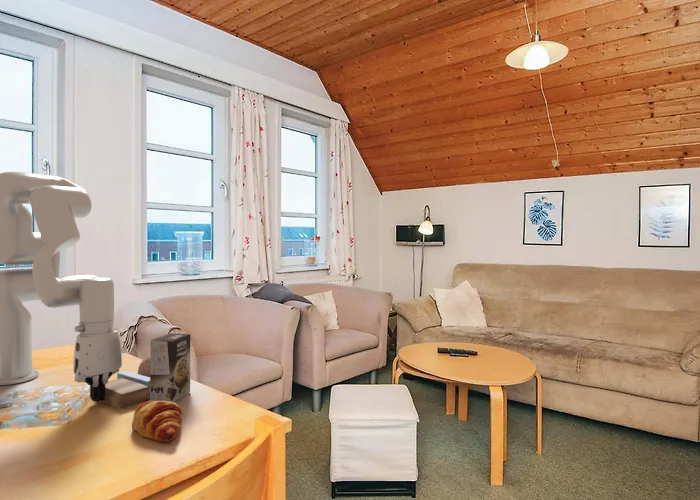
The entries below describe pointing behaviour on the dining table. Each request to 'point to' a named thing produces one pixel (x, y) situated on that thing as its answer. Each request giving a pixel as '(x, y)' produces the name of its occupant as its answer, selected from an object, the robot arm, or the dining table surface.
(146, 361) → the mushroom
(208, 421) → the dining table surface
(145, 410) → the croissant
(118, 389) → the slab
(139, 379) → the rail
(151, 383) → the coffee box
